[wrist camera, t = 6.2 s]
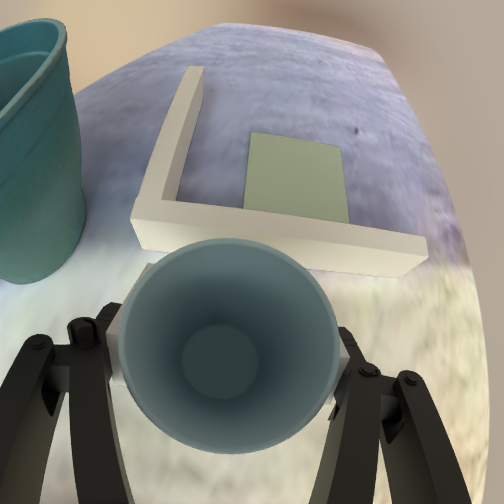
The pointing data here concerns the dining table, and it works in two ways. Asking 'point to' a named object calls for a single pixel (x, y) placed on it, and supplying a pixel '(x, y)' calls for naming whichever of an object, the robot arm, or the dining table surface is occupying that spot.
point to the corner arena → (266, 201)
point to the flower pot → (37, 153)
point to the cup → (229, 346)
